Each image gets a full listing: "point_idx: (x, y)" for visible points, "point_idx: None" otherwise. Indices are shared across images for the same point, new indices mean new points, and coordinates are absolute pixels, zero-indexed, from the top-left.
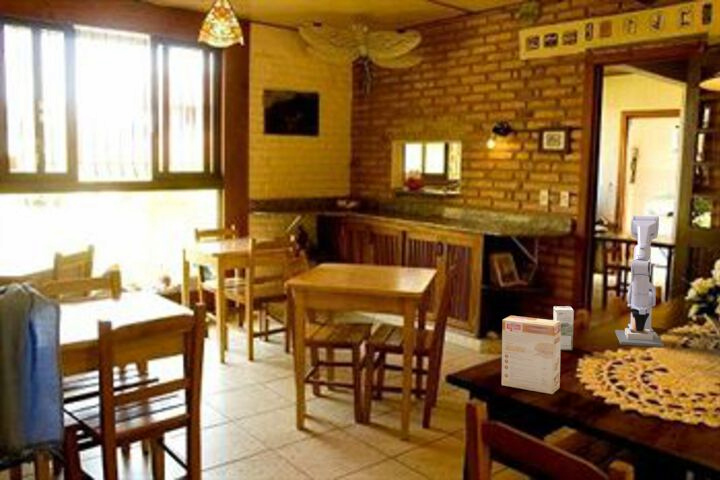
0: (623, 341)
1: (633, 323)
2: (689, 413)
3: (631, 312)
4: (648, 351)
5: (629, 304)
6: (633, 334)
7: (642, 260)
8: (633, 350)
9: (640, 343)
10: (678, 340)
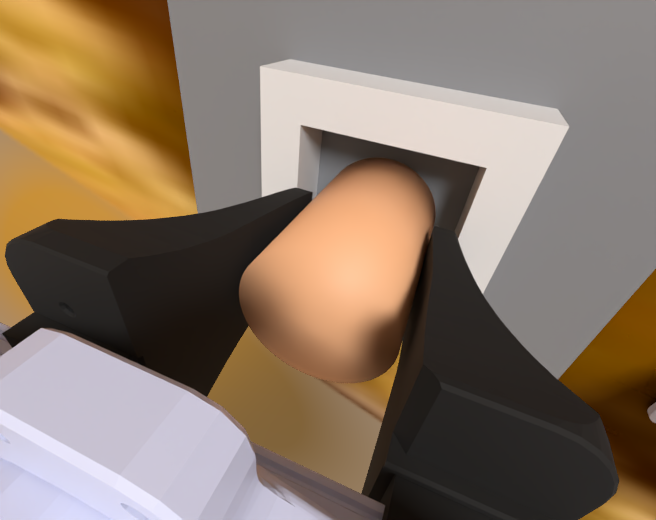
0: None
1: (327, 208)
2: None
3: (500, 358)
4: (96, 133)
5: (79, 485)
6: (263, 129)
7: None
8: (66, 27)
9: (190, 135)
10: (377, 395)
